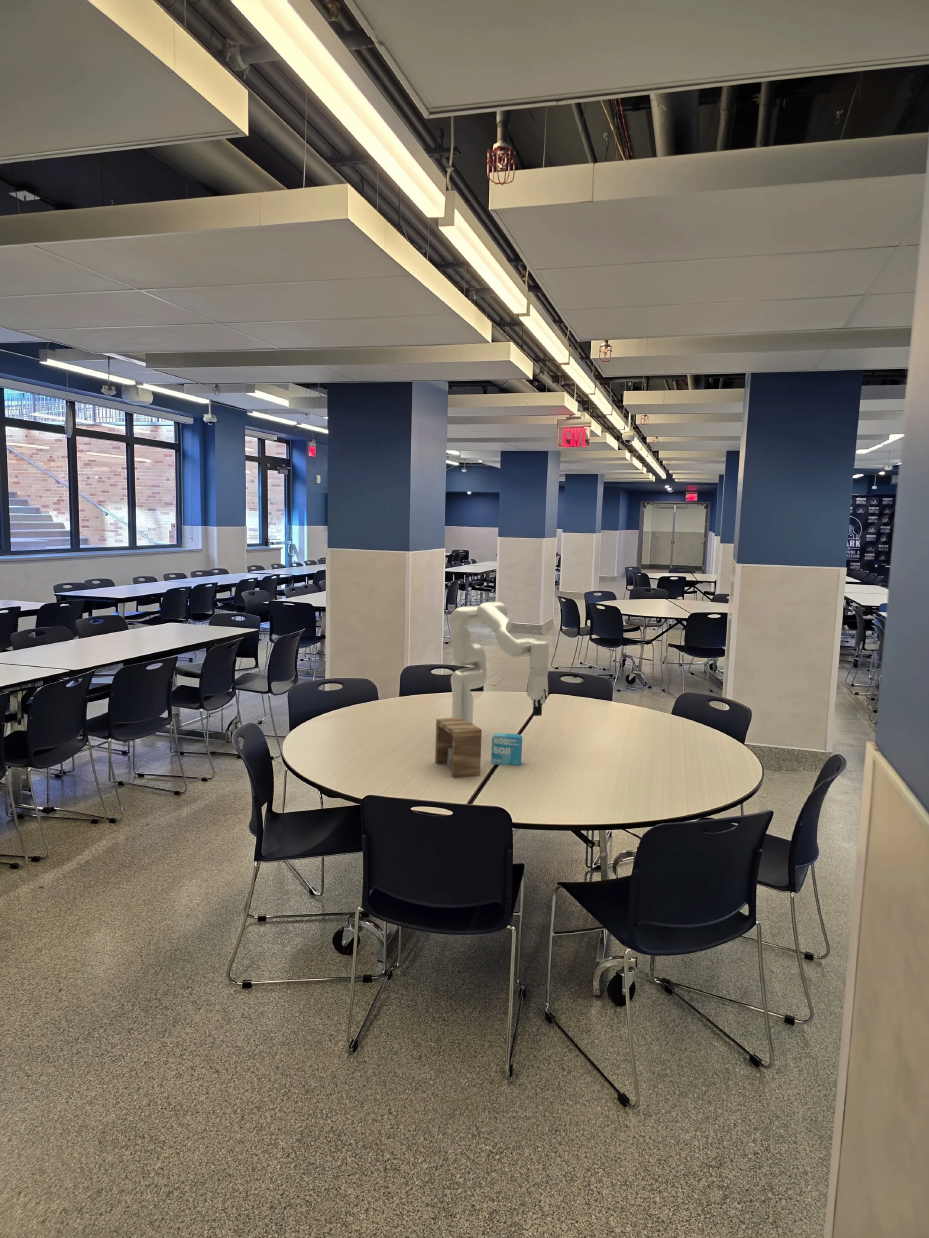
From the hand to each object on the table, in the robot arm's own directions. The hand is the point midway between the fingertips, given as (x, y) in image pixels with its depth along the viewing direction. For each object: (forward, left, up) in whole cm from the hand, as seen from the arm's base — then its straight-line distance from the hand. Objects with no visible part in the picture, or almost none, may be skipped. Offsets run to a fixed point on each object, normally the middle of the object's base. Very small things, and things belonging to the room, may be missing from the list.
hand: (537, 715), depth 301 cm
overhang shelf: (0, -34, -19) cm, 39 cm away
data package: (-1, -13, -20) cm, 23 cm away
